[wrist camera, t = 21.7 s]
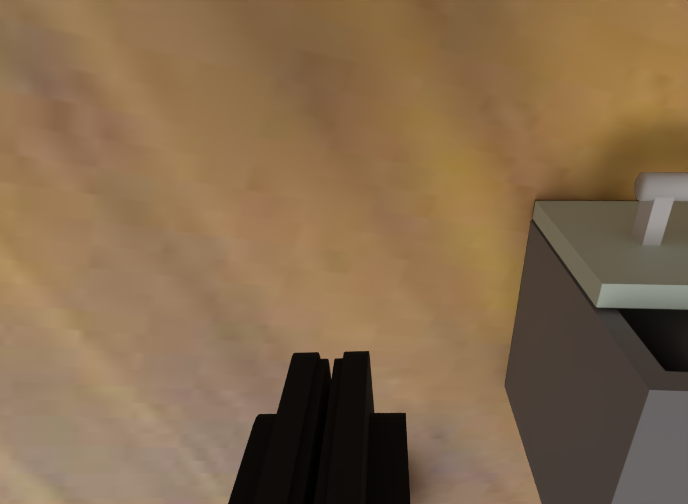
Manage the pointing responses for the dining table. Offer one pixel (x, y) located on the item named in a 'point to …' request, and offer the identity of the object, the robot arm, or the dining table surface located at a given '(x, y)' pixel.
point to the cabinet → (591, 395)
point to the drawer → (626, 243)
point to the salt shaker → (662, 334)
